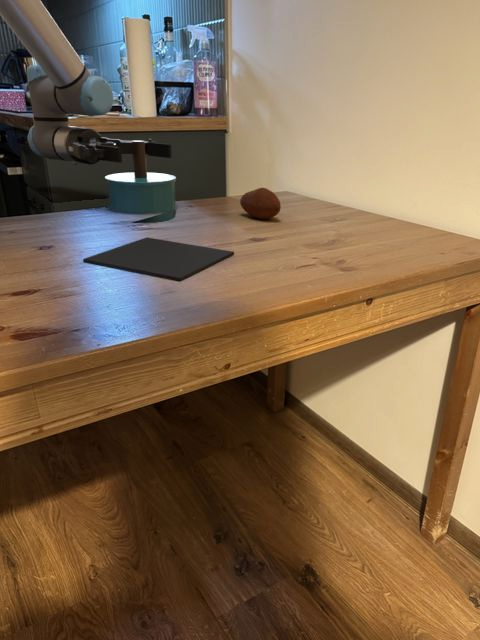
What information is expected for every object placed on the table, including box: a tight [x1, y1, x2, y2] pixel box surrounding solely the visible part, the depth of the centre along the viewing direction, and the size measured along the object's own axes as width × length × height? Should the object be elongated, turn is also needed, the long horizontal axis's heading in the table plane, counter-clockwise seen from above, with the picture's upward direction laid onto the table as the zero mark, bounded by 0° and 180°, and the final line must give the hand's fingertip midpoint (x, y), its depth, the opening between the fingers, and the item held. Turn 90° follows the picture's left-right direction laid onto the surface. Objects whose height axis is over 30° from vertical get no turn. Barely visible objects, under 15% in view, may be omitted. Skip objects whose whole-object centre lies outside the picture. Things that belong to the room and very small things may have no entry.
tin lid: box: [104, 140, 177, 185], centre depth 103 cm, size 15×15×8 cm
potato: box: [239, 187, 282, 220], centre depth 109 cm, size 6×12×6 cm, turn 47°
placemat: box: [82, 237, 235, 282], centre depth 80 cm, size 18×16×1 cm
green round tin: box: [106, 181, 177, 224], centre depth 106 cm, size 14×14×8 cm
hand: (146, 153), depth 101 cm, fingers open, 13 cm apart
